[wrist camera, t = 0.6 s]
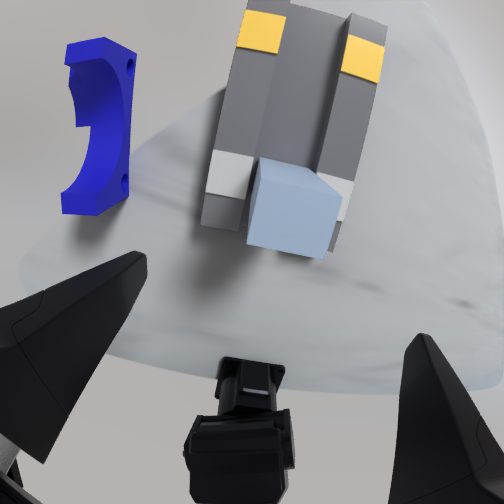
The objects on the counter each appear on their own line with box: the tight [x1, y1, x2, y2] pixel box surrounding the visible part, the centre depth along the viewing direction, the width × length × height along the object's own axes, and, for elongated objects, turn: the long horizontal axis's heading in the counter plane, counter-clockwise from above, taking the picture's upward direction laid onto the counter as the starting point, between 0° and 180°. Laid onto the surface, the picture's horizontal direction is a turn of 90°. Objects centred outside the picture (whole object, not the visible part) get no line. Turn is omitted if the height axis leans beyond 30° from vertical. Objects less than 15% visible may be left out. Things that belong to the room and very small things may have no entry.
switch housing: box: [200, 0, 388, 252], centre depth 20 cm, size 18×10×3 cm, turn 168°
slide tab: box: [247, 157, 343, 260], centre depth 18 cm, size 3×4×10 cm
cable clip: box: [61, 37, 137, 216], centre depth 19 cm, size 12×4×6 cm, turn 175°
